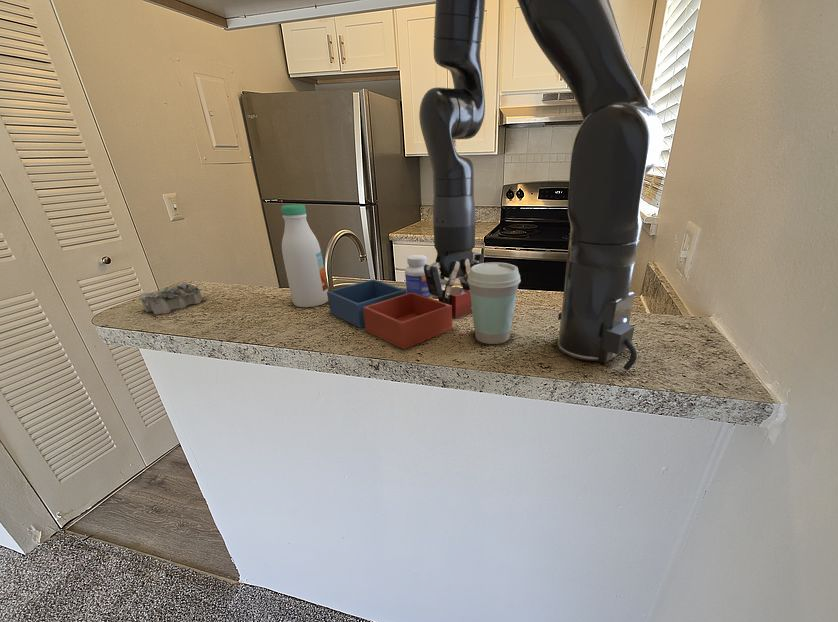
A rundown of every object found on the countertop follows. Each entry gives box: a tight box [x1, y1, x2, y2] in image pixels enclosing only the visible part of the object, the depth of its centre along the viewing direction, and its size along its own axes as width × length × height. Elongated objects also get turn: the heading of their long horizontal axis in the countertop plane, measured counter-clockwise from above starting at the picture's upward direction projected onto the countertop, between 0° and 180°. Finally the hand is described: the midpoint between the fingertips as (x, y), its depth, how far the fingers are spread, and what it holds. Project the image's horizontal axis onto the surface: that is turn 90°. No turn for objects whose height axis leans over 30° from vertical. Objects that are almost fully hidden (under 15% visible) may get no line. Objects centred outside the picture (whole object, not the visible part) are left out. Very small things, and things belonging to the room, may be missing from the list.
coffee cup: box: [467, 261, 522, 345], centre depth 67 cm, size 8×8×12 cm
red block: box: [449, 286, 473, 319], centre depth 79 cm, size 4×4×4 cm
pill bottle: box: [404, 254, 433, 299], centre depth 84 cm, size 5×5×10 cm
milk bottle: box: [280, 203, 329, 308], centre depth 84 cm, size 8×8×20 cm
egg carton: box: [138, 281, 203, 315], centre depth 88 cm, size 11×8×4 cm
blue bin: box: [327, 279, 407, 329], centre depth 81 cm, size 11×11×5 cm
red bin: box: [363, 292, 453, 350], centre depth 72 cm, size 11×11×5 cm
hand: (456, 310), depth 80 cm, fingers open, 5 cm apart
